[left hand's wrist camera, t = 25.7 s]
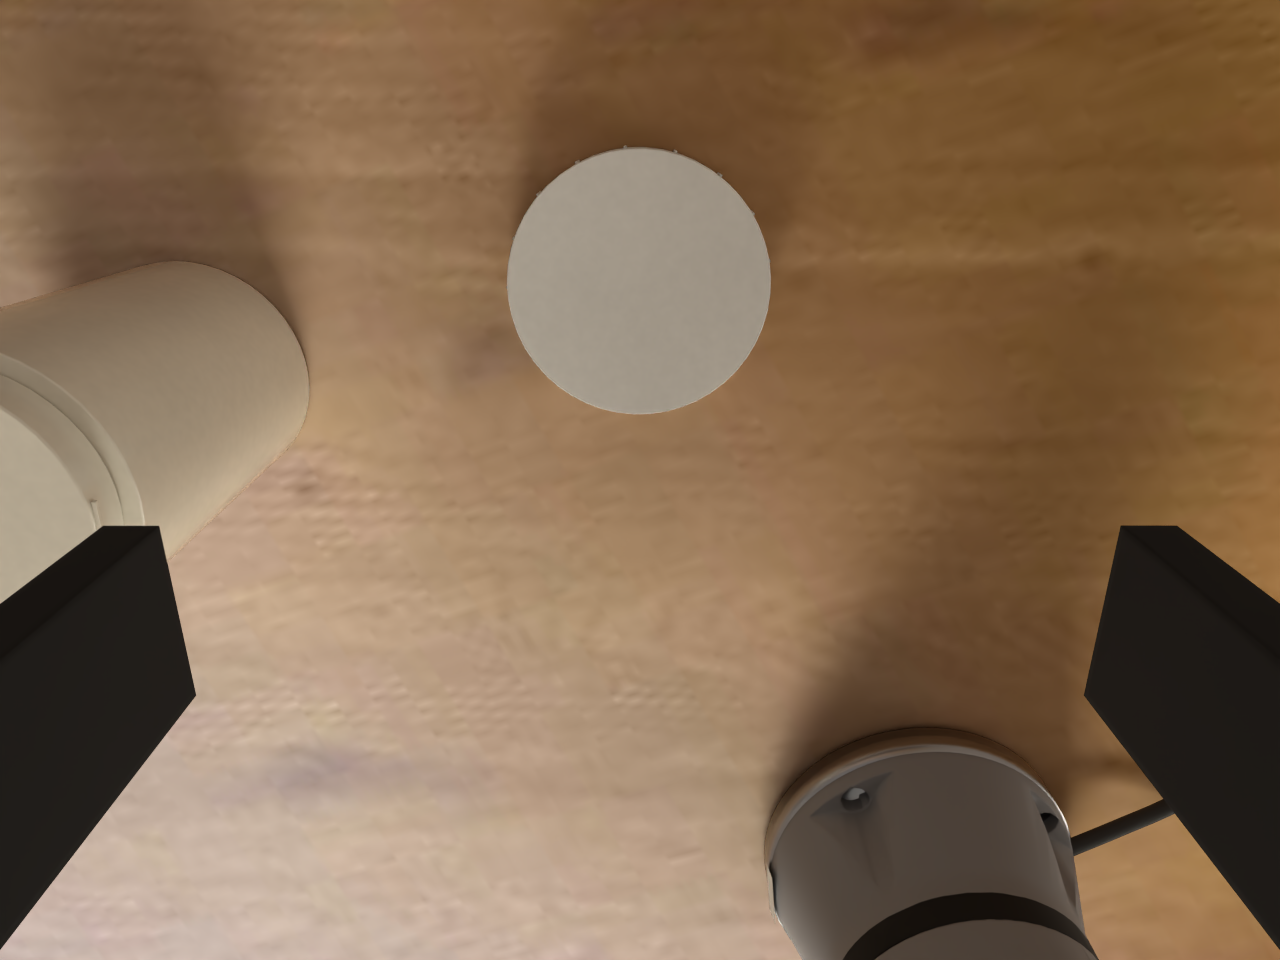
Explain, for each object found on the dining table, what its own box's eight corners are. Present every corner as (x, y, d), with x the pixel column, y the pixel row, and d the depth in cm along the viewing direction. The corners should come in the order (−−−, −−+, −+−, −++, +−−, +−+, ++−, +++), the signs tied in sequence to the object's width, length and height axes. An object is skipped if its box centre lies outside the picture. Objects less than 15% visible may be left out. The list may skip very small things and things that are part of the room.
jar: (109, 480, 40) (-181, 678, 26) (56, 261, 36) (-314, 352, 22) (324, 478, 40) (150, 676, 26) (292, 259, 36) (70, 349, 22)
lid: (794, 172, 35) (801, 175, 34) (736, 422, 39) (740, 435, 37) (530, 122, 34) (525, 122, 33) (497, 381, 38) (491, 392, 37)
